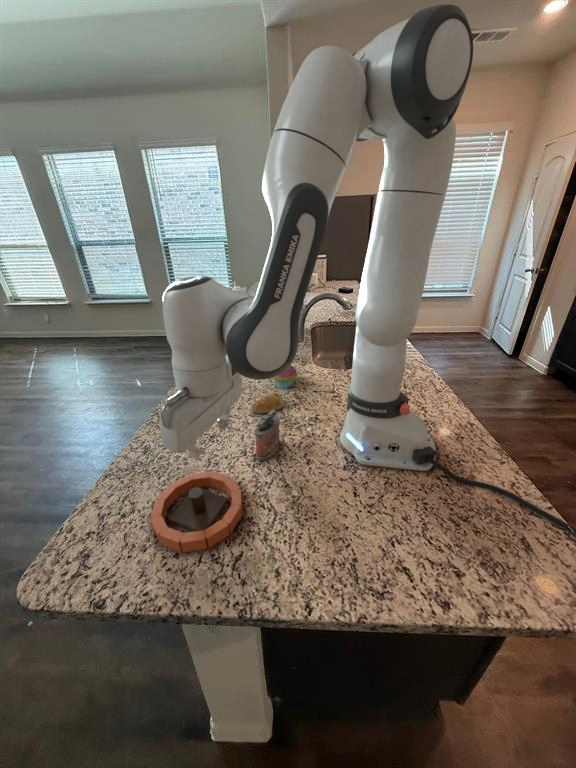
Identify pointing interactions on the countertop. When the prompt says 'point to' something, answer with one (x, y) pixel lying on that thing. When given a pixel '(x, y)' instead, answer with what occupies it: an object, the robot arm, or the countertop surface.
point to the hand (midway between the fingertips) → (210, 440)
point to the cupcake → (286, 377)
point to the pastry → (268, 403)
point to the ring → (198, 538)
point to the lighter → (267, 436)
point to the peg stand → (198, 510)
